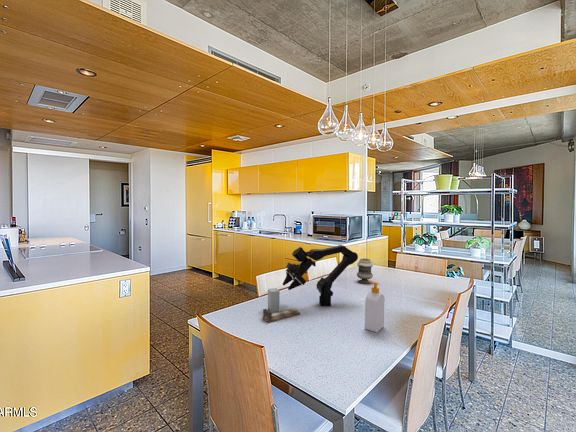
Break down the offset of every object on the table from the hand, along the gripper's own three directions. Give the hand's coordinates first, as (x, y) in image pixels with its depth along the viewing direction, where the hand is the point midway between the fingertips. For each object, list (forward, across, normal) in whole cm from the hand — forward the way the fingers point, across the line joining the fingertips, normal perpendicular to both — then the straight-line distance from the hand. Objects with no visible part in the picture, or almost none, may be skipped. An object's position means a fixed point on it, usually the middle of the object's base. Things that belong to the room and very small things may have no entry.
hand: (285, 287), depth 164 cm
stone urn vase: (-45, -34, +64) cm, 85 cm away
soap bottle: (-15, +36, +33) cm, 51 cm away
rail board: (+13, +9, +6) cm, 16 cm away
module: (+14, 0, +4) cm, 15 cm away
